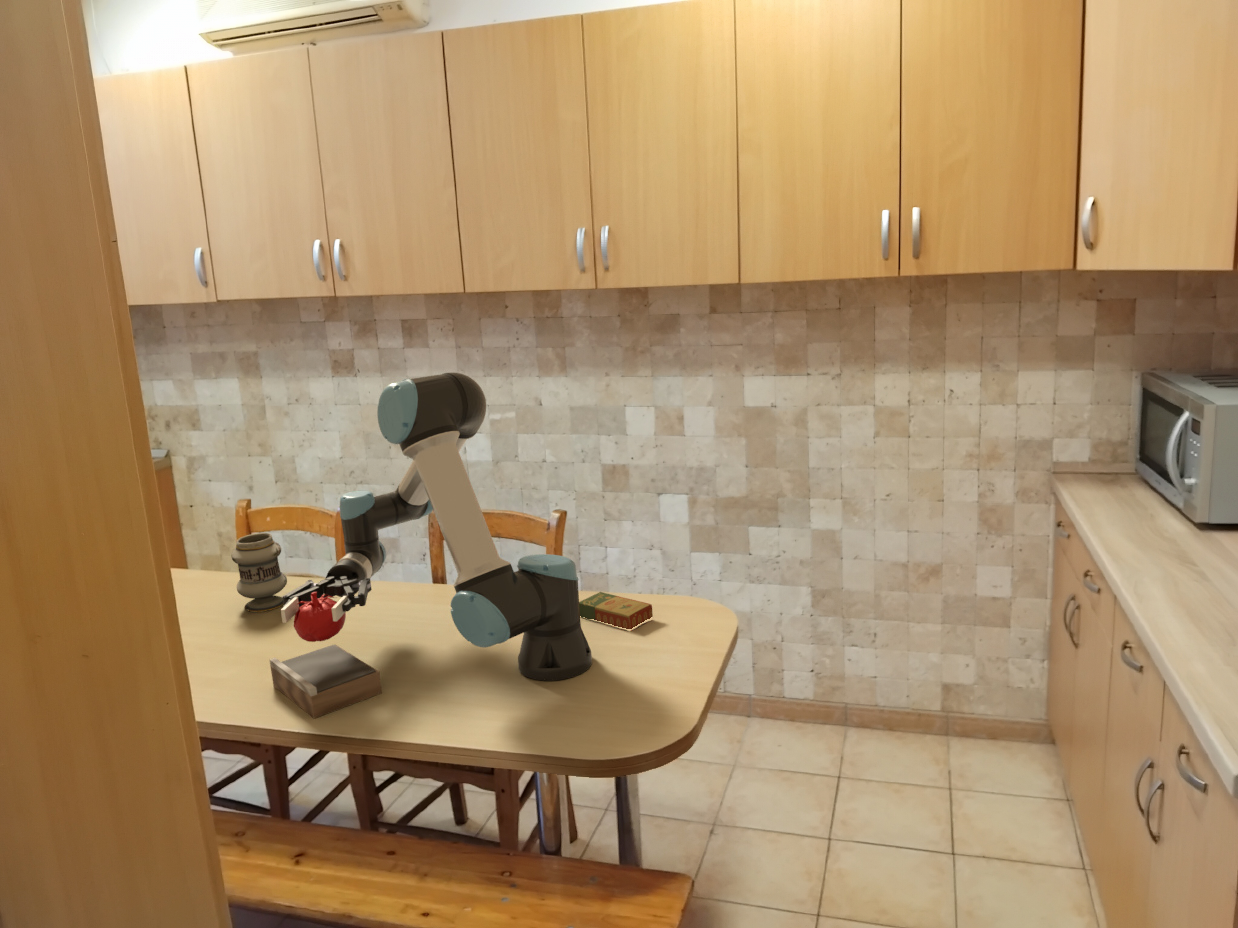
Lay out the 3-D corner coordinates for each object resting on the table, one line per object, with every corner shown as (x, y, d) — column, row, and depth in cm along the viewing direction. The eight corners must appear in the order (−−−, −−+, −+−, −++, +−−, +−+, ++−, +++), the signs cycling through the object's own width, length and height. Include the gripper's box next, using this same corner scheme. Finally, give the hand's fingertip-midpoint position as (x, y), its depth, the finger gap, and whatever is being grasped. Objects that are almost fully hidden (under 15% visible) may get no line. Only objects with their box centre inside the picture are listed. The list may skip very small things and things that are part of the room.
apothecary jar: (230, 608, 239) (219, 540, 235) (272, 593, 248) (262, 527, 244) (257, 617, 232) (246, 547, 228) (299, 601, 241) (289, 533, 237)
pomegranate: (357, 627, 191) (352, 584, 189) (327, 647, 182) (320, 602, 179) (316, 623, 194) (310, 580, 192) (284, 643, 185) (278, 598, 183)
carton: (629, 633, 209) (628, 615, 208) (577, 618, 220) (576, 601, 219) (653, 620, 215) (652, 603, 214) (601, 606, 226) (600, 590, 225)
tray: (381, 692, 187) (378, 665, 186) (314, 718, 178) (310, 689, 177) (337, 663, 202) (334, 638, 200) (273, 686, 193) (269, 659, 192)
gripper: (400, 590, 204) (366, 632, 182) (301, 593, 206) (256, 635, 184) (397, 557, 202) (362, 595, 180) (297, 560, 204) (250, 598, 182)
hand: (308, 615), depth 182 cm, fingers closed on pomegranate, 9 cm apart
